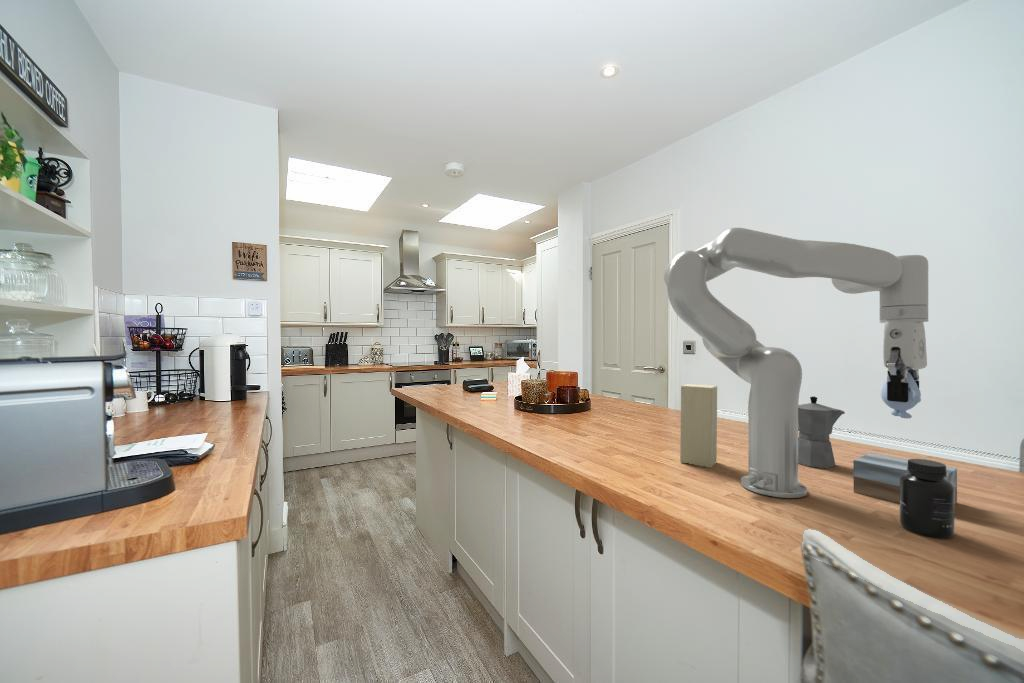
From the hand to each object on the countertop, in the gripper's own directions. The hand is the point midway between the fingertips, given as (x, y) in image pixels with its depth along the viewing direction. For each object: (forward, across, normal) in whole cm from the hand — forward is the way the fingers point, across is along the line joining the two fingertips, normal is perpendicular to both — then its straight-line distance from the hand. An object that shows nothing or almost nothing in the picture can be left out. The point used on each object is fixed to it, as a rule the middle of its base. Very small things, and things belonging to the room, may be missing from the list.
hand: (903, 399), depth 88 cm
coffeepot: (+21, +12, +22) cm, 33 cm away
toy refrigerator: (+21, -12, +39) cm, 46 cm away
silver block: (+21, 0, 0) cm, 21 cm away
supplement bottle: (+21, -17, -7) cm, 28 cm away
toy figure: (+4, 0, 0) cm, 4 cm away
